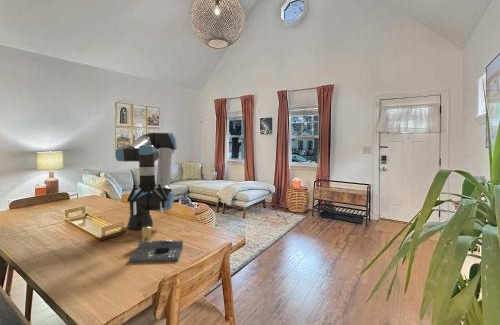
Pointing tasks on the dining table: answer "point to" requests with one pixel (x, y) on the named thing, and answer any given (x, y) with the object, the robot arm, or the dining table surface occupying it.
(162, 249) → the plate
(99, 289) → the dining table surface
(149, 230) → the cylinder
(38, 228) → the dining table surface
